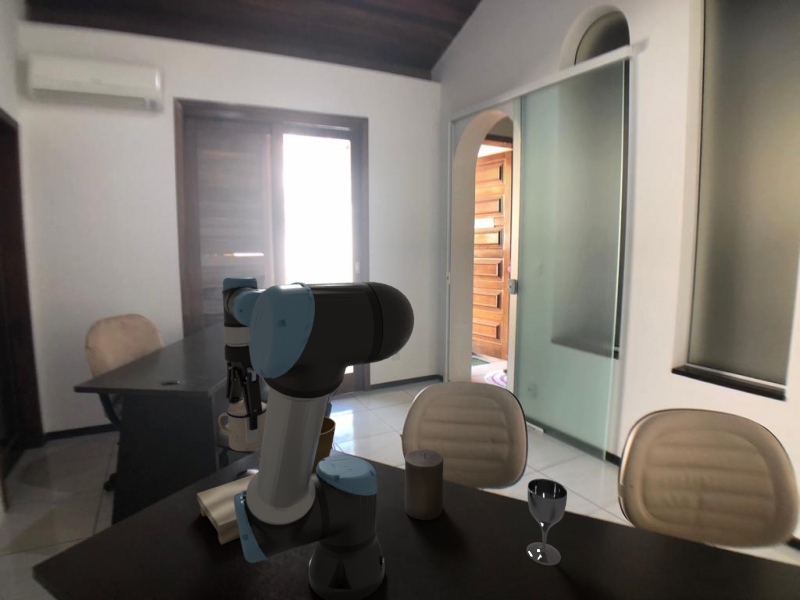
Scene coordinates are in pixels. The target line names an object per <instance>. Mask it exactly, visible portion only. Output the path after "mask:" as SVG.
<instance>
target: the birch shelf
mask: <svg viewBox="0 0 800 600" xmlns="http://www.w3.org/2000/svg"><path fill="white" fill-rule="evenodd" d="M255 474H256V473H254V474H251V475H248V476H246V477H242V478H239V479H236V480H233V481H231V482H227V483H224V484H222V485H219V486H216V487H212V488H209V489H207V490H203V491H200V492H198V493H196V502H197V503H198V504H199V506H200V507H199V510H200V514H201V516H202V517H204V518H205V517H207V518H208V519H209V521H210V522H211V524H212V526H213V527H214V529H216V532H217V539H218V542H219V544H220V545H224V544H226V543H229V542H232V541H234V540H237V539H239V538H240V535H239V530H238V524H237V519H236V513H235V507H234V496H235V495H236V494H238V493H240V492H242V491H244V490H246V491H247V487H248V484H249V482H250V480H251V479H252V477H253V476H254V475H255Z"/></svg>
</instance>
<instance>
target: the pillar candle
mask: <svg viewBox="0 0 800 600" xmlns="http://www.w3.org/2000/svg"><path fill="white" fill-rule="evenodd" d="M443 486H444V457H443V455H442V454H441V453H440V452H438V451H435V450H432V449H427V448H425V449H424V448H420V449H413V450H411V451H409V452H407V453H406V454H405V456H404V511H405V513H406V515H408V516H409V517H411V518H413V519H415V520H421V521H432V520H435V519H437V518H439V517H440V516H441V515H442V514H443V503H444V502H443V501H444V499H443V498H444V497H443V496H444V494H443V493H444V487H443Z"/></svg>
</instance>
